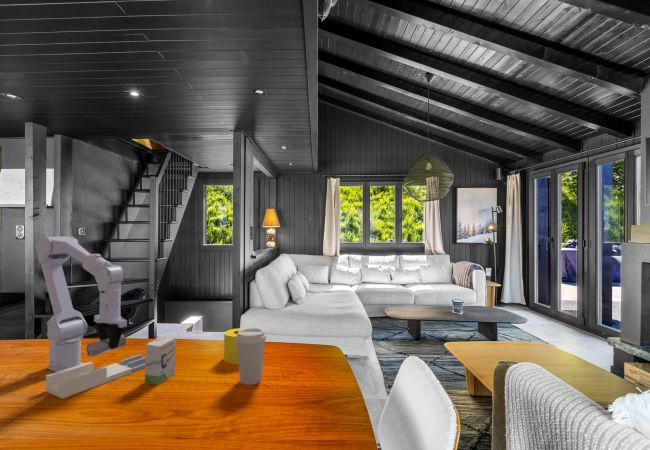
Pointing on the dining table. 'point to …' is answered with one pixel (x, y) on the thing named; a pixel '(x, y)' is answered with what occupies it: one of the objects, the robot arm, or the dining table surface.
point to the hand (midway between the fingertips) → (109, 346)
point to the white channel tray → (82, 378)
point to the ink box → (160, 360)
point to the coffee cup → (250, 354)
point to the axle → (103, 346)
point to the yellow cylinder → (231, 346)
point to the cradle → (134, 362)
